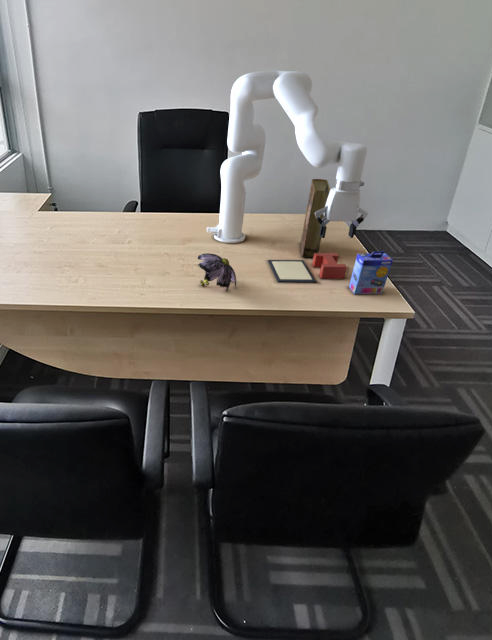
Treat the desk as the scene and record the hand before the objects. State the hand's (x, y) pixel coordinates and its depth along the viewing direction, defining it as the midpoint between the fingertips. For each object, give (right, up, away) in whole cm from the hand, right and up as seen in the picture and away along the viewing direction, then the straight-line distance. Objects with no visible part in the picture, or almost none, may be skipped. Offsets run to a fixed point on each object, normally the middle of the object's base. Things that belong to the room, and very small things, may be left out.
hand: (336, 236), depth 166 cm
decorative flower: (-41, -17, -3) cm, 45 cm away
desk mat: (-13, -11, +7) cm, 19 cm away
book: (-2, 0, +23) cm, 23 cm away
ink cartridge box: (+8, -19, -5) cm, 21 cm away
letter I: (0, -11, +7) cm, 13 cm away
